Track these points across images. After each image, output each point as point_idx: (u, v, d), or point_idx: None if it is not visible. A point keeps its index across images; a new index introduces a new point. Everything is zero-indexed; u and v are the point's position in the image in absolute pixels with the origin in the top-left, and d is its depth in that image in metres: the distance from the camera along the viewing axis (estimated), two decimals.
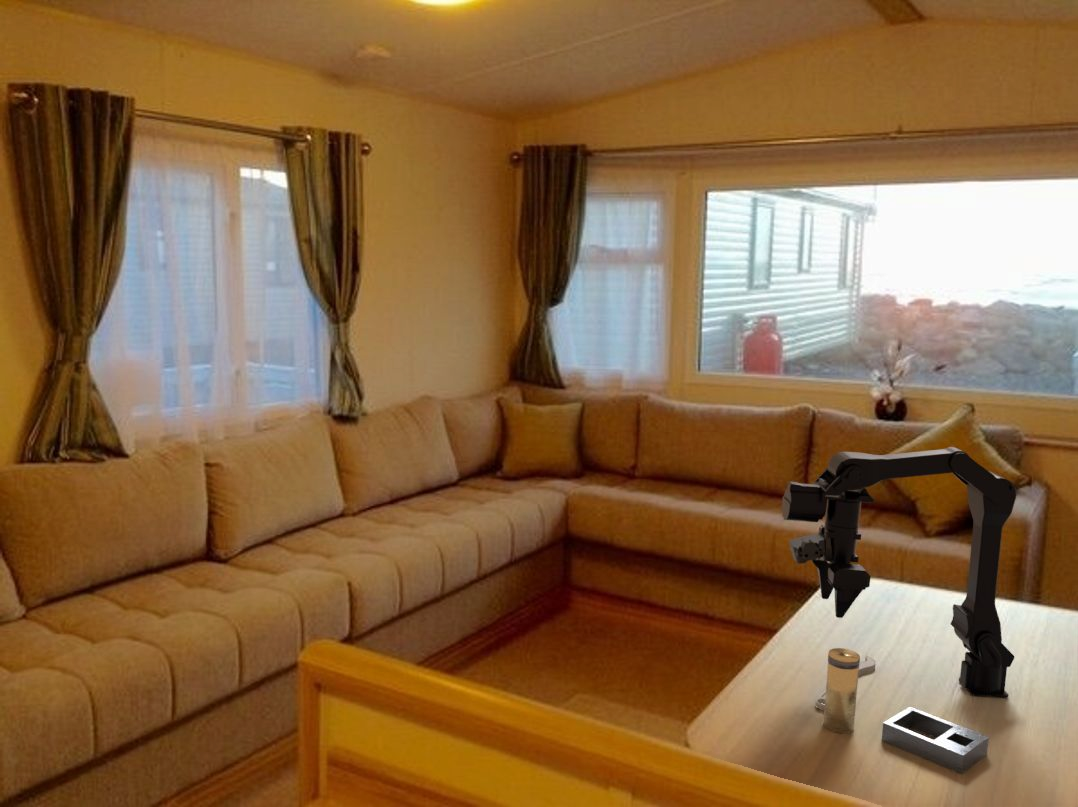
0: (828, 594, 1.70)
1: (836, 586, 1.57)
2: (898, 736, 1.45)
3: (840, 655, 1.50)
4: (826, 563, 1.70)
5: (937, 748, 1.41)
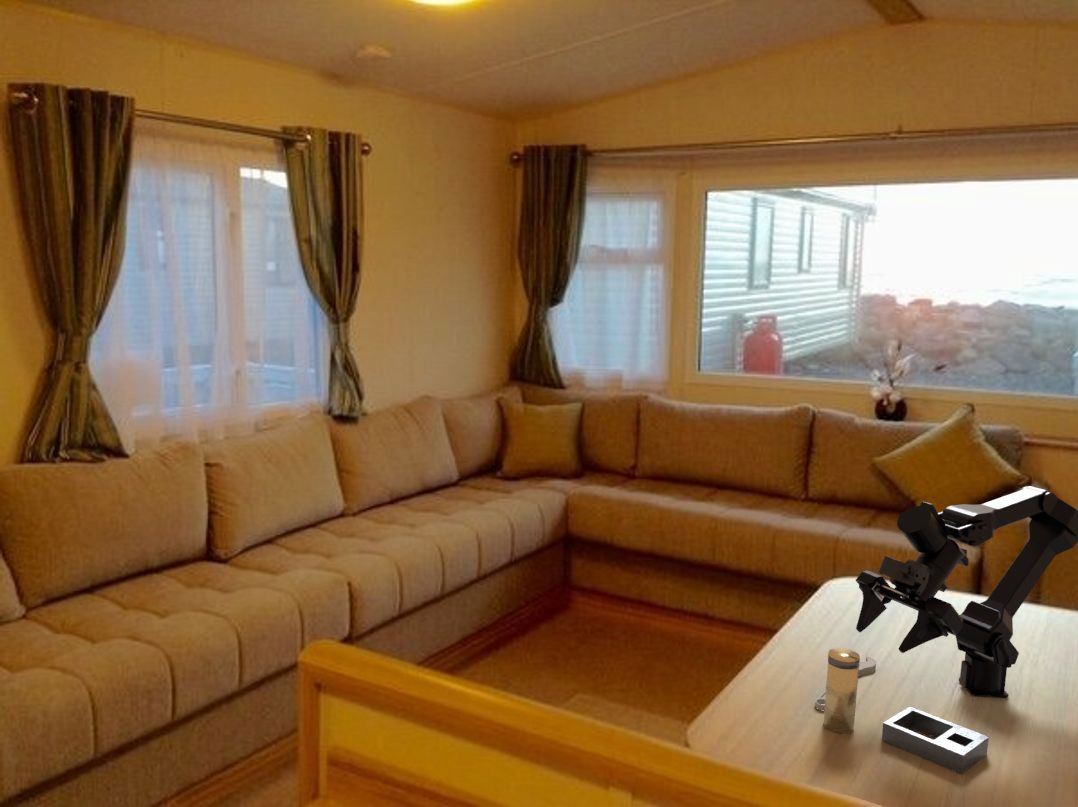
0: (863, 628, 1.58)
1: (935, 618, 1.47)
2: (898, 736, 1.45)
3: (840, 655, 1.50)
4: (877, 598, 1.59)
5: (937, 748, 1.41)
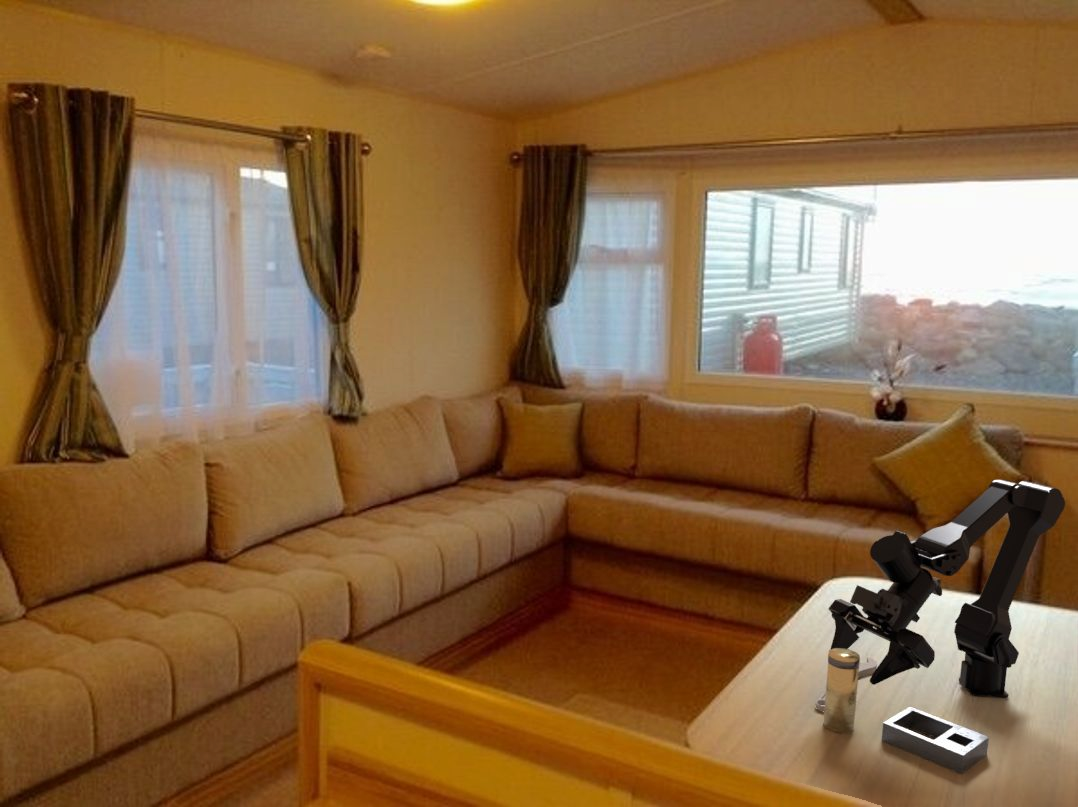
0: None
1: (906, 650, 1.45)
2: (898, 736, 1.45)
3: (840, 655, 1.50)
4: (849, 628, 1.57)
5: (937, 748, 1.41)
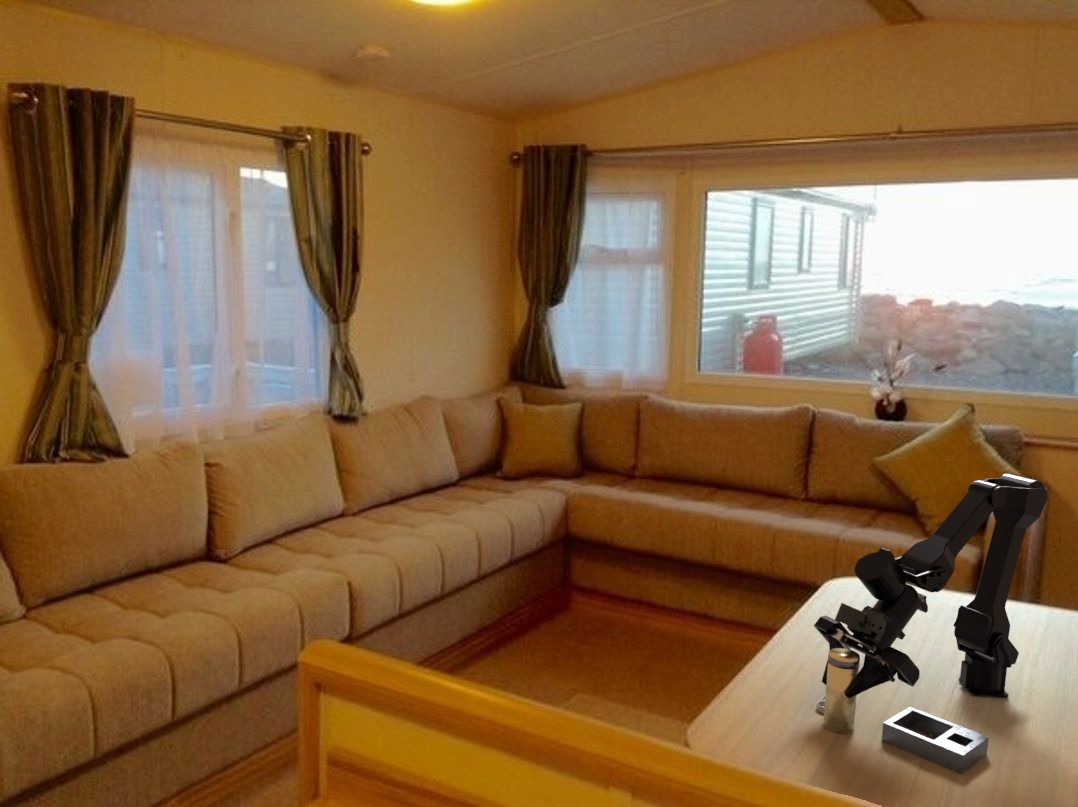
0: None
1: (880, 664, 1.46)
2: (898, 736, 1.45)
3: (840, 655, 1.50)
4: None
5: (937, 748, 1.41)
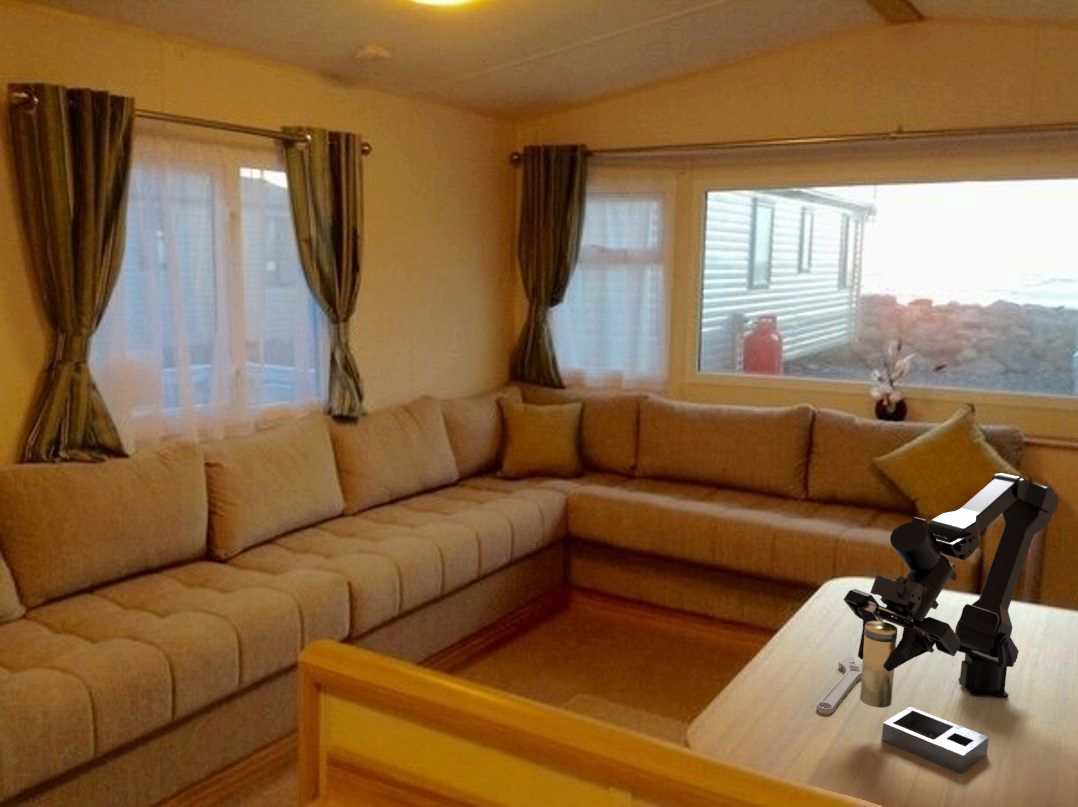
0: None
1: (921, 635, 1.43)
2: (898, 736, 1.45)
3: (877, 628, 1.46)
4: None
5: (937, 748, 1.41)
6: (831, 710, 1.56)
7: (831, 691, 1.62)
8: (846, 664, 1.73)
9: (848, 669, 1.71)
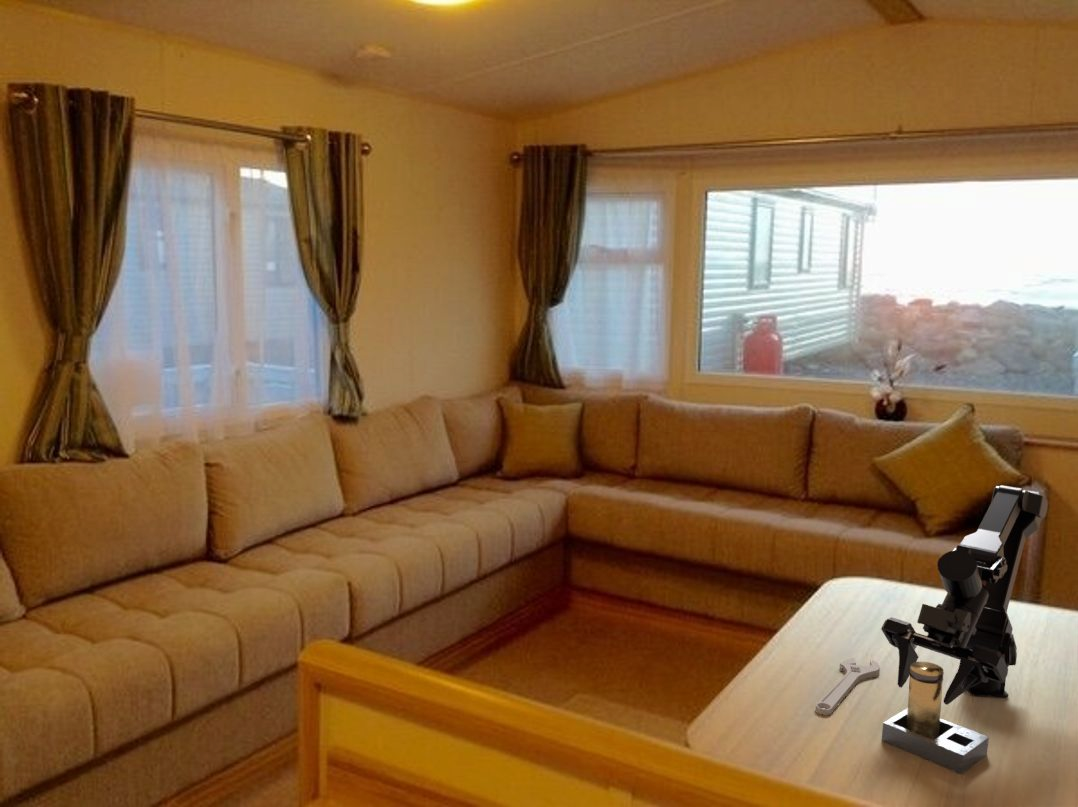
0: (903, 683, 1.48)
1: (980, 666, 1.41)
2: (898, 736, 1.45)
3: (924, 669, 1.45)
4: (912, 649, 1.50)
5: (937, 748, 1.41)
6: (830, 711, 1.56)
7: (831, 692, 1.62)
8: (847, 665, 1.73)
9: (849, 670, 1.71)
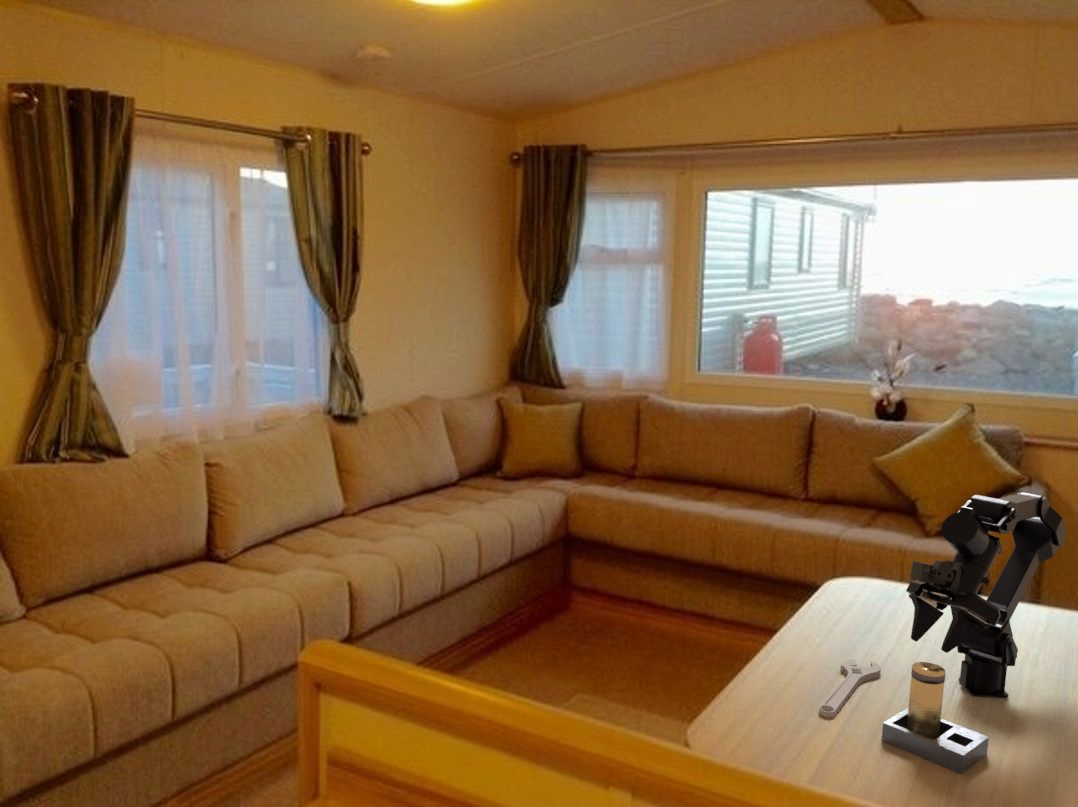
0: (919, 637, 1.60)
1: (964, 612, 1.48)
2: (898, 736, 1.45)
3: (926, 670, 1.45)
4: (928, 605, 1.61)
5: (937, 748, 1.41)
6: (833, 713, 1.55)
7: (833, 694, 1.61)
8: (848, 667, 1.72)
9: (850, 672, 1.70)
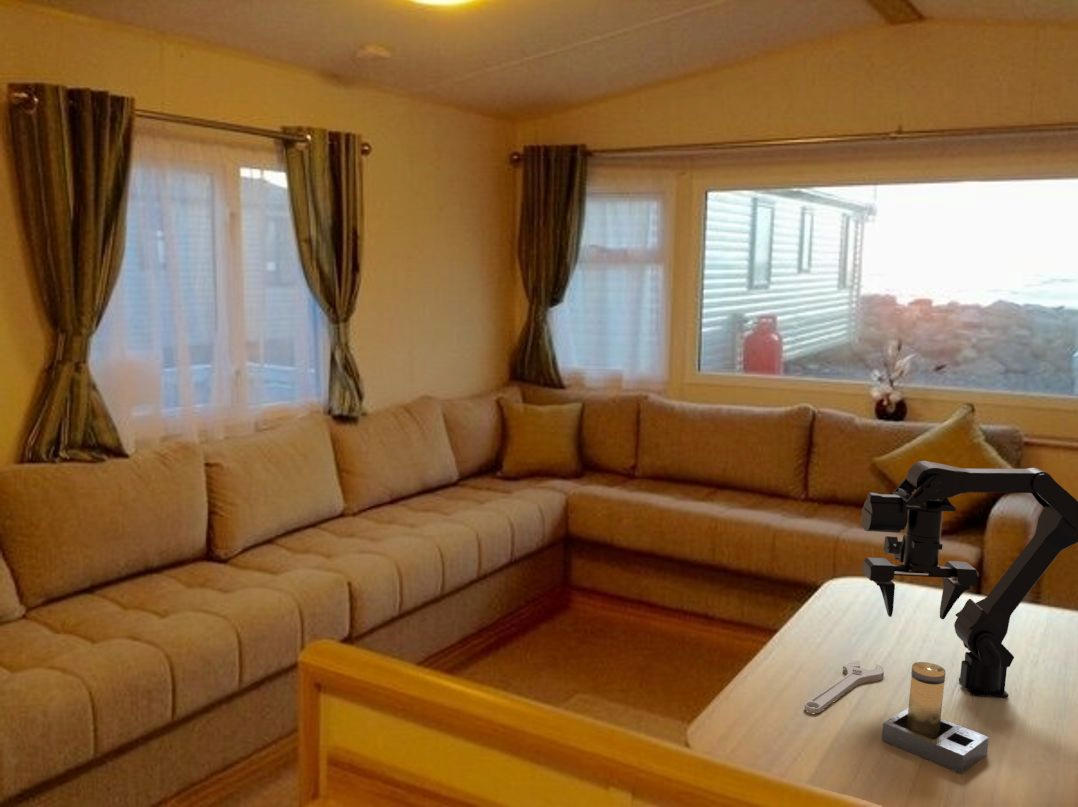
0: (942, 614, 1.65)
1: None
2: (898, 736, 1.45)
3: (926, 670, 1.45)
4: (947, 582, 1.65)
5: (937, 748, 1.41)
6: (818, 710, 1.56)
7: (824, 692, 1.62)
8: (850, 668, 1.72)
9: (850, 672, 1.70)
